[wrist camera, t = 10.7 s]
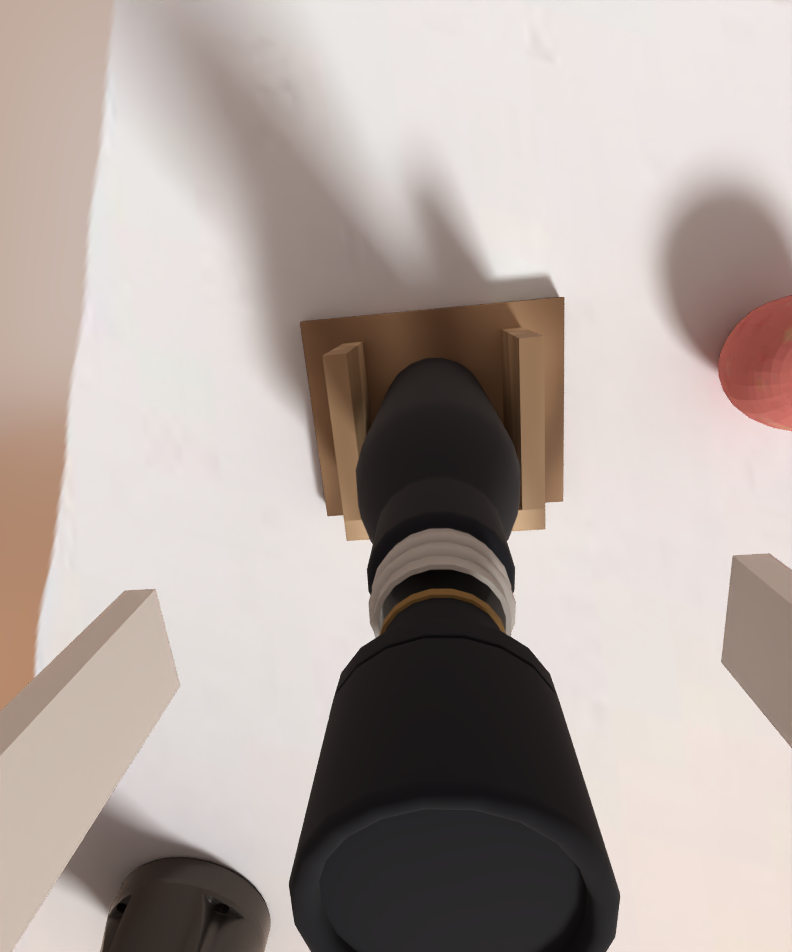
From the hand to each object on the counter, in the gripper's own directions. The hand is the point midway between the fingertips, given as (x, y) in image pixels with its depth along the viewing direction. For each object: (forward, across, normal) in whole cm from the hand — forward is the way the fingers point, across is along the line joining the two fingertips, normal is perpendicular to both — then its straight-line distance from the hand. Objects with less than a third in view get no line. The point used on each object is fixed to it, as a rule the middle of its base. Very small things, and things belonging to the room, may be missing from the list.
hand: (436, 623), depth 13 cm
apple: (+25, +20, +2) cm, 32 cm away
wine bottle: (+24, 0, 0) cm, 24 cm away
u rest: (+25, 0, 0) cm, 25 cm away
